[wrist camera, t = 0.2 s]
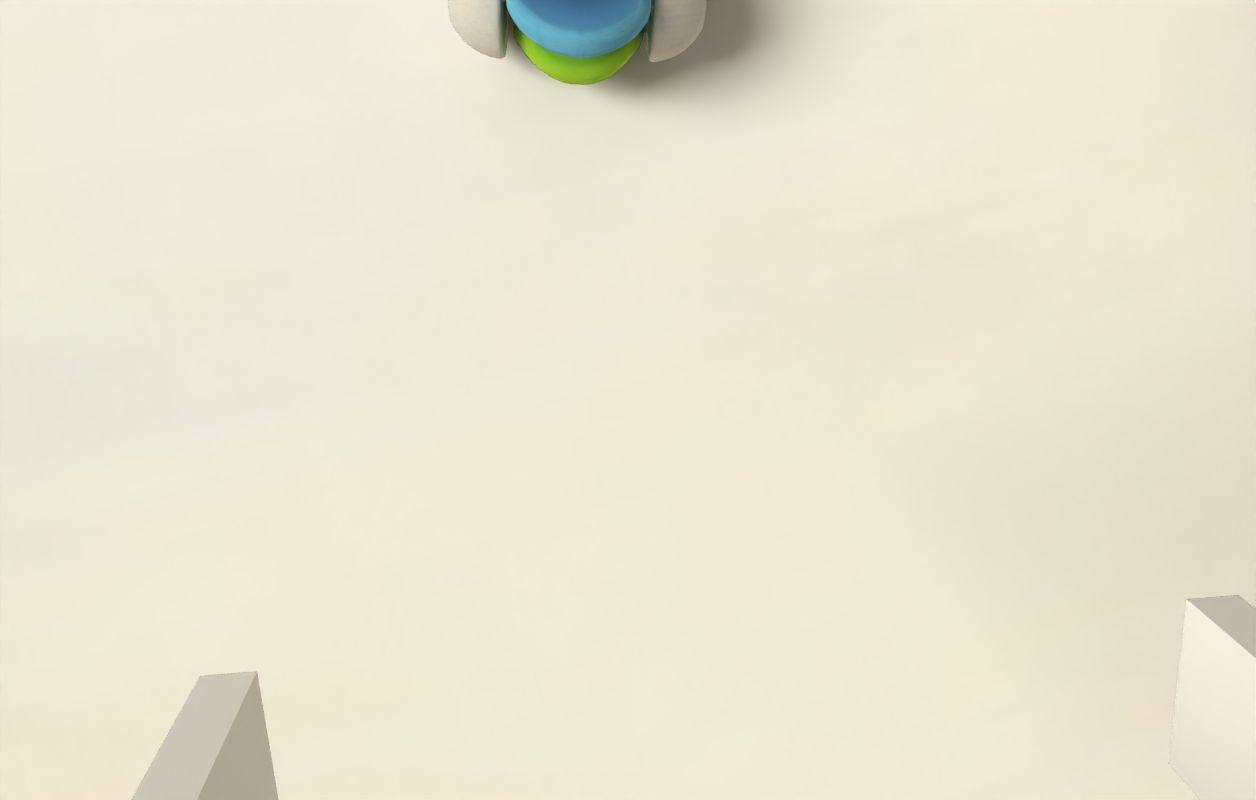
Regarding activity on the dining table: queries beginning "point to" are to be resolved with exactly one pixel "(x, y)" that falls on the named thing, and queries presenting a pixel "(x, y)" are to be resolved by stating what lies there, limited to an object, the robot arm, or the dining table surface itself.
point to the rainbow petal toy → (580, 32)
